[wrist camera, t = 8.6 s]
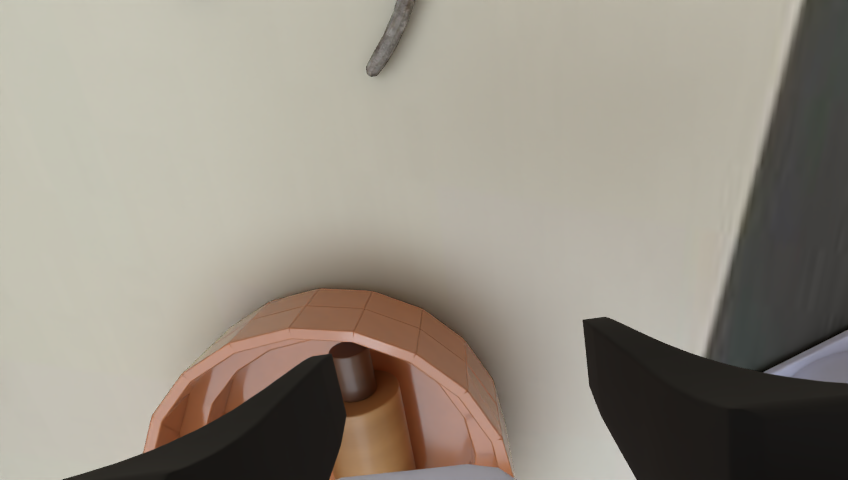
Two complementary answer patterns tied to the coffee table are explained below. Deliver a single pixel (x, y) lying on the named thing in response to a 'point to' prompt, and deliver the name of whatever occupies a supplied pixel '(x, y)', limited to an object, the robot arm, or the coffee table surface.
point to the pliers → (390, 37)
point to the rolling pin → (370, 417)
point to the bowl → (390, 351)
